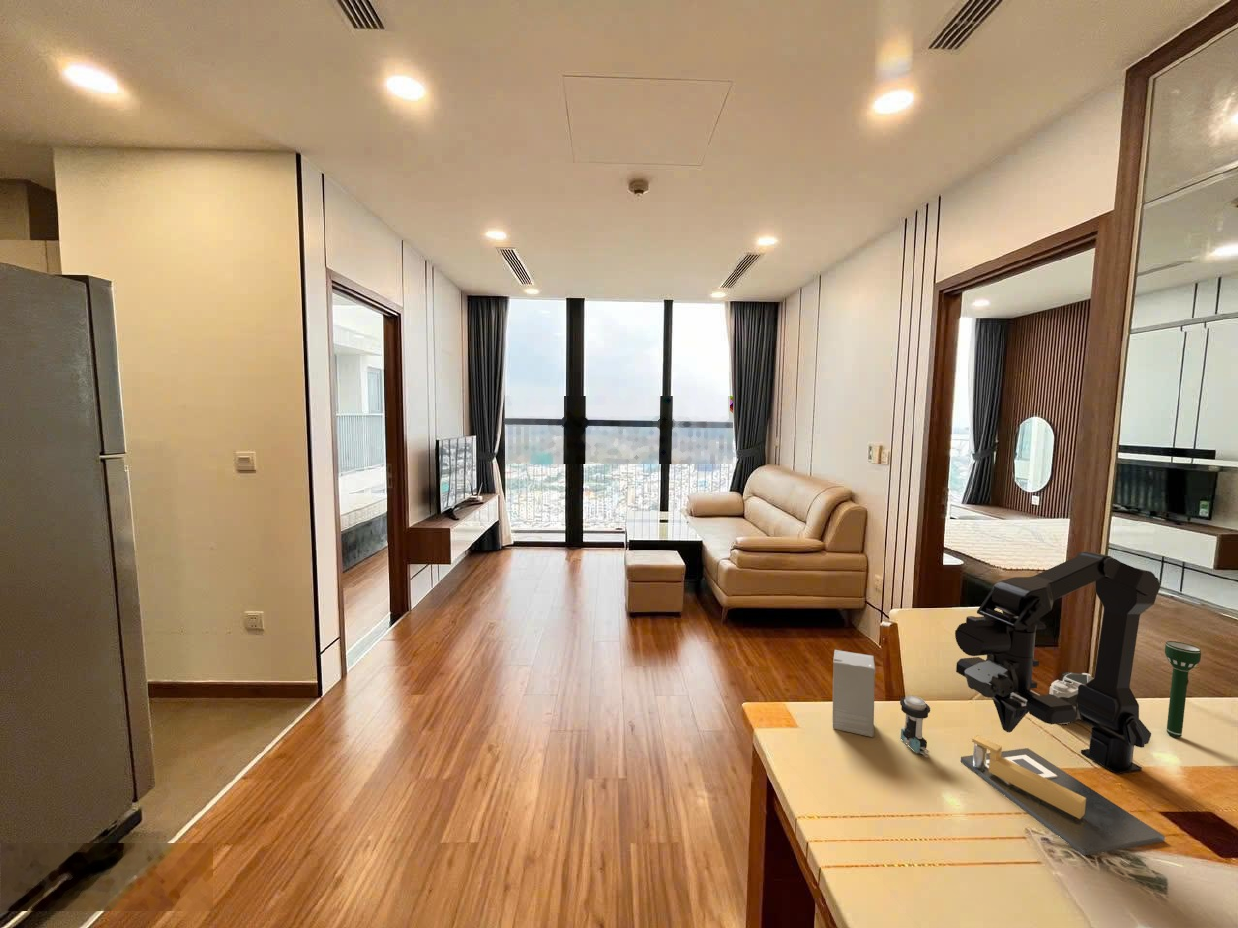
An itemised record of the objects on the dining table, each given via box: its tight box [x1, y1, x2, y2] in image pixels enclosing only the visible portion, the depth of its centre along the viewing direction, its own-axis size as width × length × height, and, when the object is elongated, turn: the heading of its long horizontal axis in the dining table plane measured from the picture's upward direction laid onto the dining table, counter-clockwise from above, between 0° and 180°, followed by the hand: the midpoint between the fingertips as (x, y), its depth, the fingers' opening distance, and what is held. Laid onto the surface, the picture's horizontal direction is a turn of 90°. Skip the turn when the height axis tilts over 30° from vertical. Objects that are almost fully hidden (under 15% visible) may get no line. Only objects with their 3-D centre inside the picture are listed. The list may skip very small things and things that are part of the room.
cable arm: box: [971, 735, 1086, 819], centre depth 89 cm, size 16×2×5 cm, turn 32°
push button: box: [899, 695, 931, 758], centre depth 101 cm, size 7×5×10 cm
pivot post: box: [972, 742, 988, 770], centre depth 95 cm, size 2×2×5 cm
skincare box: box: [832, 649, 876, 738], centre depth 108 cm, size 8×7×16 cm
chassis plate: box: [960, 747, 1166, 857], centre depth 88 cm, size 16×22×1 cm
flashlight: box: [1164, 640, 1202, 738], centre depth 107 cm, size 5×5×20 cm
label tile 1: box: [1005, 755, 1057, 779], centre depth 95 cm, size 5×6×1 cm
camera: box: [1048, 671, 1094, 725], centre depth 113 cm, size 16×9×10 cm, turn 116°
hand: (1007, 730), depth 93 cm, fingers closed
